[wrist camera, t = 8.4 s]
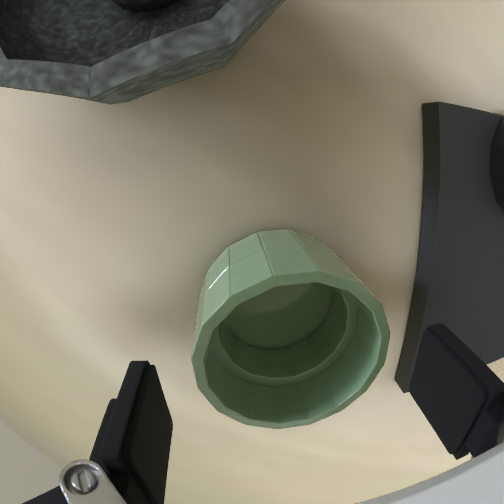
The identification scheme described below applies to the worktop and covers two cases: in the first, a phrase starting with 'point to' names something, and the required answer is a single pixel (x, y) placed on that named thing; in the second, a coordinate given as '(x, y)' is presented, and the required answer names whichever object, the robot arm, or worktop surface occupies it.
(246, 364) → the bowl
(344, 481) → the worktop surface
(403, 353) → the scale
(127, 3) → the mortar and pestle
